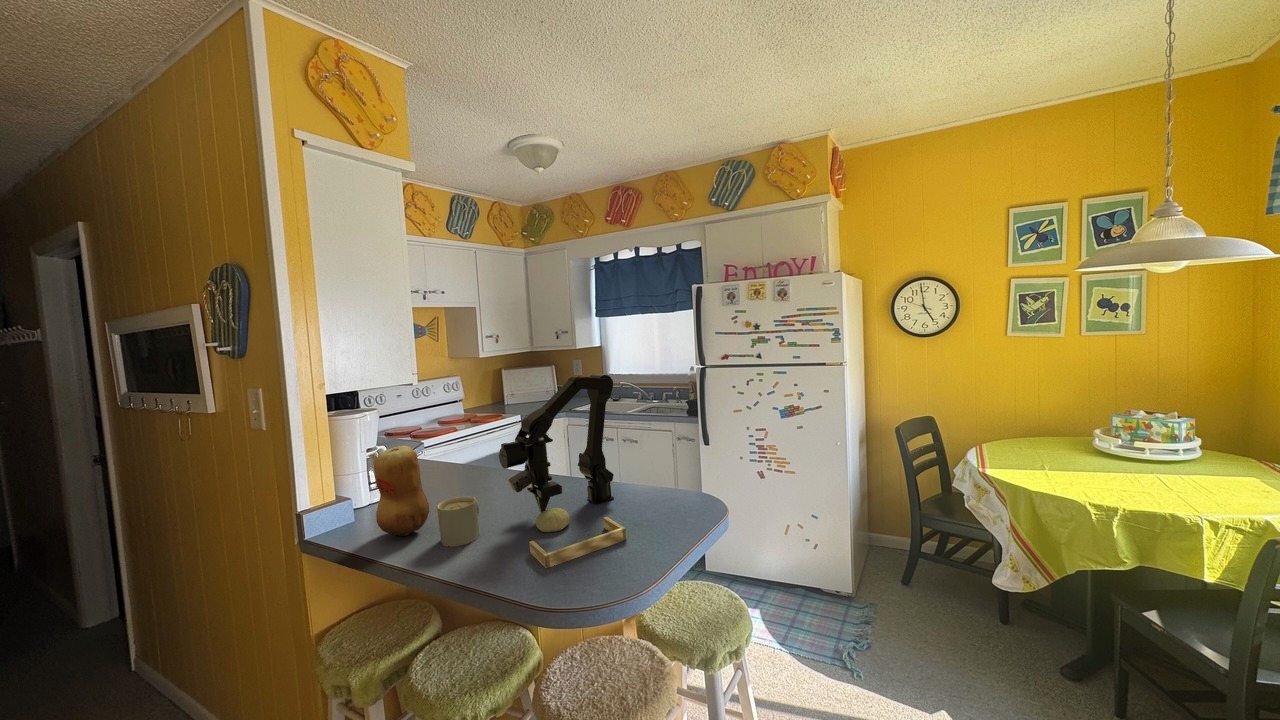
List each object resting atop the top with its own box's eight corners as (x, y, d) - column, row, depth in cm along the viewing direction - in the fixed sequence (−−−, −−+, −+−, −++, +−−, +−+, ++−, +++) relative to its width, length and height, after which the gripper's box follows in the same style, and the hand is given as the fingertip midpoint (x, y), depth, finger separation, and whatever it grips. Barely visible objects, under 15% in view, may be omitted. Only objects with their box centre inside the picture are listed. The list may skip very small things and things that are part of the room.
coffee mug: (459, 549, 131) (455, 512, 130) (433, 543, 136) (428, 507, 135) (496, 528, 143) (492, 493, 142) (470, 523, 148) (466, 490, 147)
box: (607, 527, 137) (606, 516, 137) (626, 539, 129) (625, 528, 129) (530, 553, 126) (529, 541, 125) (546, 568, 117) (545, 556, 117)
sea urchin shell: (529, 519, 143) (547, 495, 144) (550, 533, 145) (568, 510, 147) (536, 531, 134) (555, 505, 136) (558, 546, 137) (577, 521, 139)
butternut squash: (368, 542, 140) (356, 454, 138) (404, 522, 153) (394, 441, 150) (408, 545, 136) (397, 455, 133) (442, 525, 148) (432, 441, 146)
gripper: (499, 459, 149) (505, 510, 150) (521, 473, 133) (527, 530, 135) (535, 451, 155) (540, 500, 156) (560, 464, 139) (565, 518, 140)
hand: (542, 512), depth 147 cm, fingers closed
